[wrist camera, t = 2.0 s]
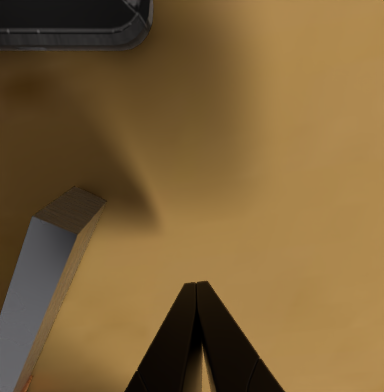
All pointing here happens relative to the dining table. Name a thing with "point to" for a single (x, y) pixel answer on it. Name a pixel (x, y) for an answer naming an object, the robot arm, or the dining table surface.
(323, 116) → the dining table surface
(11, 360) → the arm
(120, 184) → the dining table surface
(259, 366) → the robot arm
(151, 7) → the phone
